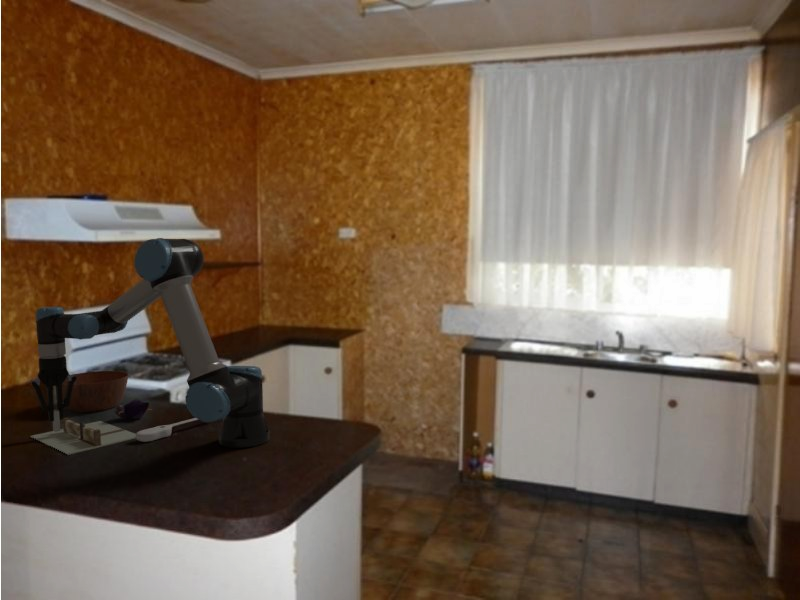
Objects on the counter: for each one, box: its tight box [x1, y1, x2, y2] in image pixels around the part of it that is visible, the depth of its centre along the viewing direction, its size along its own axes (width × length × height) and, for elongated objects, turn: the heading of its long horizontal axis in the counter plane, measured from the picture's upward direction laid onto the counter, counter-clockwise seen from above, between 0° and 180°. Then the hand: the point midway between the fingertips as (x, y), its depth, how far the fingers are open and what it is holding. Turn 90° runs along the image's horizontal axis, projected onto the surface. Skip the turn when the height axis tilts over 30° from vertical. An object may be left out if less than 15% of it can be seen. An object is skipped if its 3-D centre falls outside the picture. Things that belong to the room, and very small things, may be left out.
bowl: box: [62, 370, 129, 413], centre depth 236 cm, size 25×25×11 cm
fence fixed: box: [79, 421, 101, 446], centre depth 191 cm, size 11×1×6 cm, turn 50°
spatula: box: [135, 417, 200, 443], centre depth 202 cm, size 28×6×3 cm, turn 145°
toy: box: [113, 398, 153, 420], centre depth 219 cm, size 11×12×7 cm
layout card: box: [30, 420, 136, 456], centre depth 198 cm, size 28×22×1 cm
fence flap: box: [62, 417, 80, 437], centre depth 199 cm, size 11×1×4 cm, turn 50°
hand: (56, 430), depth 197 cm, fingers closed
